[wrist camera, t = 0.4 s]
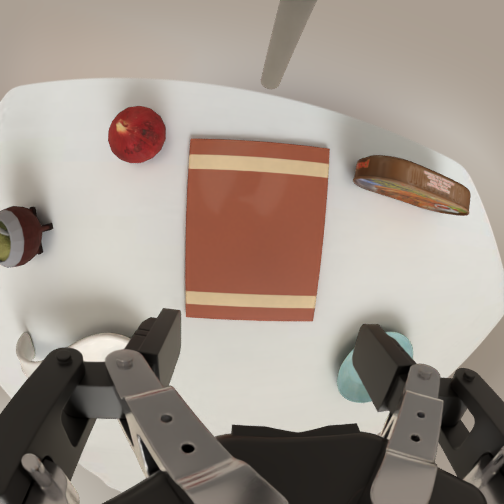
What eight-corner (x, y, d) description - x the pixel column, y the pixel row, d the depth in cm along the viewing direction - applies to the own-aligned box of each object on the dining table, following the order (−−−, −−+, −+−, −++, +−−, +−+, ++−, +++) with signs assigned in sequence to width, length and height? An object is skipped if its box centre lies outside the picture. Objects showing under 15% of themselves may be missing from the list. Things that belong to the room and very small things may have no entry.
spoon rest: (158, 323, 33) (142, 353, 26) (171, 396, 36) (161, 431, 29) (20, 311, 32) (-8, 330, 25) (40, 375, 35) (20, 399, 28)
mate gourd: (25, 259, 31) (-49, 293, 16) (15, 203, 29) (-64, 217, 14) (62, 252, 31) (-17, 288, 16) (52, 190, 29) (-34, 199, 15)
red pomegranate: (180, 123, 29) (163, 103, 21) (161, 172, 30) (137, 167, 22) (135, 110, 28) (107, 89, 20) (116, 157, 29) (83, 149, 21)
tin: (341, 182, 31) (374, 181, 23) (346, 156, 30) (380, 147, 22) (438, 214, 32) (481, 222, 24) (443, 191, 32) (485, 195, 24)
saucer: (373, 309, 35) (380, 317, 32) (419, 346, 36) (426, 353, 34) (315, 376, 36) (319, 386, 34) (368, 402, 38) (373, 411, 36)
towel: (191, 139, 29) (190, 138, 29) (328, 149, 30) (329, 148, 30) (186, 315, 33) (185, 317, 33) (311, 319, 34) (313, 321, 34)
